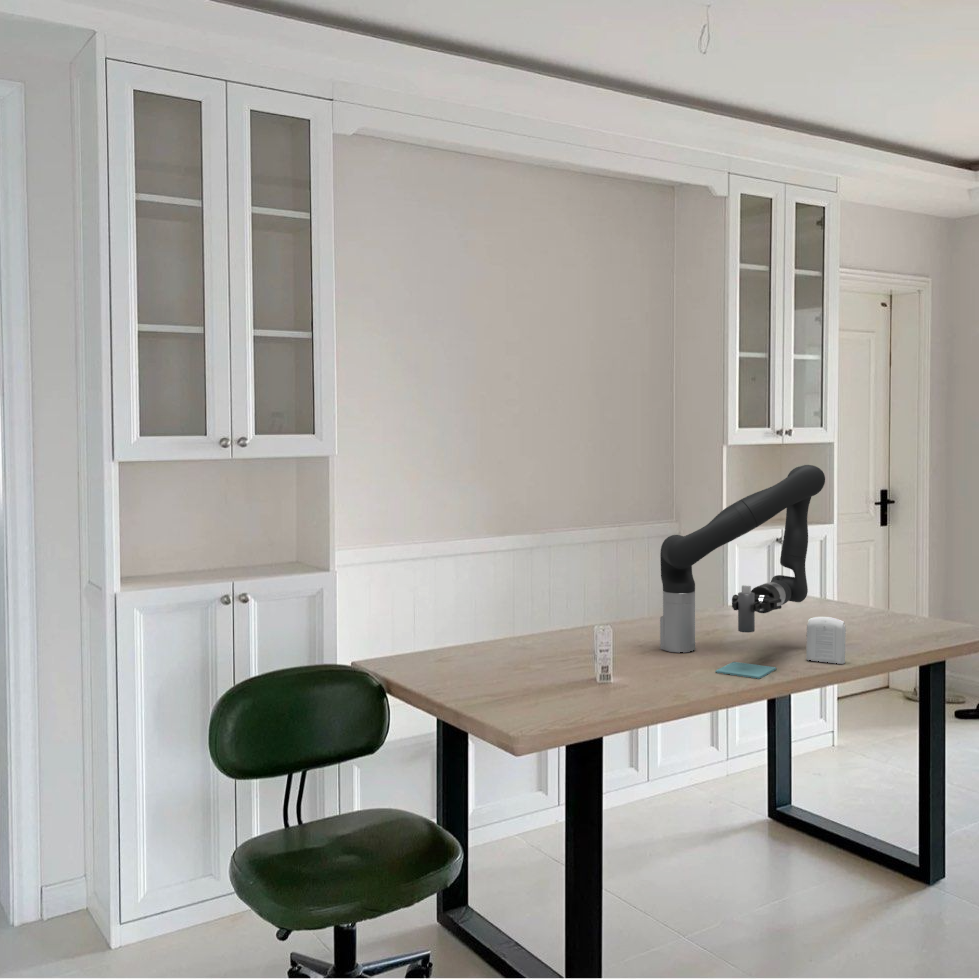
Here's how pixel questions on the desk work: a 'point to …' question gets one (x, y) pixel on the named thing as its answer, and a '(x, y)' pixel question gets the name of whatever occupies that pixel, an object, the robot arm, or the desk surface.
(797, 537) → the robot arm
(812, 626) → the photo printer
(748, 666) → the teal mat
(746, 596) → the grey capped bottle
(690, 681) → the desk surface
